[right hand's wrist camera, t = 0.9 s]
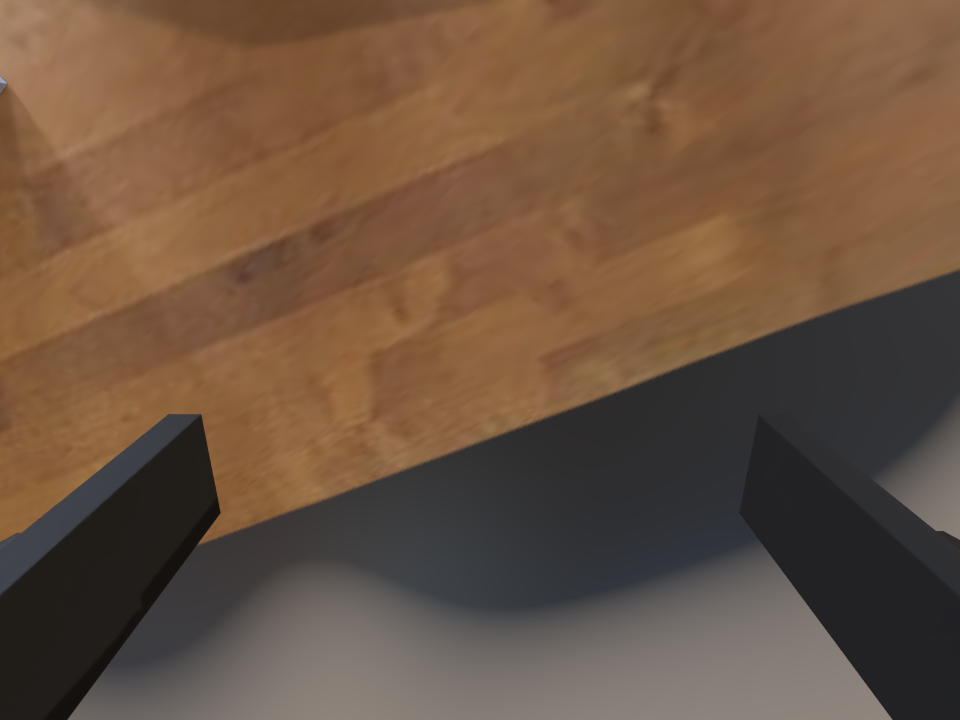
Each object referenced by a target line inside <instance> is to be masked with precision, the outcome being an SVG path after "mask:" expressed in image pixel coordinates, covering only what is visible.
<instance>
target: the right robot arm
mask: <svg viewBox="0 0 960 720" xmlns="http://www.w3.org/2000/svg"><path fill="white" fill-rule="evenodd" d="M219 514H220V508H219V503H218V497H217V492H216V487H215V482H214V477H213V472H212V467H211V462H210V457H209V452H208V447H207V442H206V437H205V432H204V426H203V421H202V416H201V414H168V415H167V416H166V417H165V418H164V419H162V420H161V421H160V422H159V423H157V424H156V425H155V426H154V427H152V428H151V429H150V430H149V431H147V432H146V433H145V434H144V435H142V436H141V437H140V438H139V439H138V440H136V441H135V442H134V443H133V444H131V445H130V446H129V447H128V448H126V449H125V450H124V451H123V452H121V453H120V454H119V455H118V456H116V457H115V458H114V459H113V460H112V461H110V462H109V463H108V464H107V465H105V466H104V467H103V468H102V469H100V470H99V471H98V472H97V473H95V474H94V475H93V476H92V477H90V478H89V479H88V480H87V481H85V482H84V483H83V484H82V485H81V486H79V487H78V488H77V489H76V490H74V491H73V492H72V493H71V494H69V495H68V496H67V497H66V498H64V499H63V500H62V501H61V502H59V503H58V504H57V505H56V506H55V507H53V508H52V509H51V510H50V511H48V512H47V513H46V514H45V515H43V516H42V517H41V518H40V519H38V520H37V521H36V522H35V523H33V524H32V525H31V526H30V527H29V528H27V529H26V530H25V531H24V532H22V533H17V534H15V535H13V536H11V537H9V538H7V539H5V540H4V541H2V542H0V720H67V719H68V718H69V717H70V715H71V714H72V713H73V711H74V710H75V709H76V707H77V706H78V705H79V703H80V702H81V701H82V699H83V698H84V696H85V695H86V694H87V692H88V691H89V690H90V688H91V687H92V686H93V684H94V683H95V682H96V680H97V679H98V678H99V676H100V675H101V674H102V672H103V671H104V670H105V668H106V667H107V665H108V664H109V663H110V661H111V660H112V659H113V657H114V656H115V655H116V653H117V652H118V651H119V649H120V648H121V647H122V645H123V644H124V643H125V641H126V640H127V638H128V637H129V636H130V634H131V633H132V632H133V630H134V629H135V628H136V626H137V625H138V624H139V622H140V621H141V620H142V618H143V617H144V616H145V614H146V613H147V612H148V610H149V609H150V607H151V606H152V605H153V603H154V602H155V601H156V599H157V598H158V597H159V595H160V594H161V593H162V591H163V590H164V589H165V587H166V586H167V584H168V583H169V582H170V580H171V579H172V578H173V576H174V575H175V574H176V572H177V571H178V570H179V568H180V567H181V566H182V564H183V563H184V562H185V560H186V559H187V558H188V556H189V555H190V554H191V552H192V551H193V549H194V548H195V547H196V545H197V544H198V543H199V541H200V540H201V539H202V537H203V536H204V535H205V533H206V532H207V531H208V529H209V528H210V527H211V525H212V524H213V523H214V521H215V520H216V518H217V517H218V516H219ZM740 514H741V516H742V517H743V518H744V520H745V521H746V522H747V524H748V525H749V526H750V528H751V529H752V531H753V532H754V533H755V534H756V536H757V537H758V539H759V540H760V541H761V543H762V544H763V545H764V547H765V548H766V549H767V551H768V552H769V554H770V555H771V556H772V558H773V559H774V560H775V562H776V563H777V564H778V566H779V567H780V568H781V570H782V571H783V572H784V574H785V575H786V576H787V578H788V579H789V581H790V582H791V583H792V585H793V586H794V587H795V589H796V590H797V591H798V593H799V594H800V595H801V597H802V598H803V599H804V601H805V602H806V603H807V605H808V606H809V607H810V609H811V610H812V612H813V613H814V614H815V615H816V617H817V618H818V620H819V621H820V622H821V624H822V625H823V626H824V628H825V629H826V630H827V632H828V633H829V634H830V636H831V637H832V638H833V640H834V641H835V643H836V644H837V645H838V647H839V648H840V649H841V651H842V652H843V653H844V655H845V656H846V657H847V659H848V660H849V661H850V663H851V664H852V665H853V667H854V668H855V670H856V671H857V672H858V673H859V675H860V676H861V678H862V679H863V680H864V682H865V683H866V684H867V686H868V687H869V688H870V690H871V691H872V692H873V694H874V695H875V697H876V698H877V699H878V701H879V702H880V703H881V705H882V706H883V707H884V709H885V710H886V711H887V713H888V714H889V715H890V717H891V718H892V719H893V720H960V540H959V539H957V538H955V537H953V536H951V535H949V534H947V533H946V532H944V531H935V530H934V529H933V528H931V527H930V526H929V525H928V524H927V523H925V522H924V521H923V520H922V519H920V518H919V517H918V516H917V515H915V514H914V513H913V512H912V511H910V510H909V509H908V508H907V507H905V506H904V505H903V504H902V503H901V502H899V501H898V500H897V499H896V498H894V497H893V496H892V495H890V494H889V493H888V492H887V491H886V490H884V489H883V488H882V487H881V486H879V485H878V484H877V483H876V482H875V481H873V480H872V479H871V478H870V477H868V476H867V475H866V474H865V473H863V472H862V471H861V470H860V469H858V468H857V467H856V466H855V465H853V464H852V463H851V462H850V461H848V460H847V459H846V458H845V457H843V456H842V455H841V454H840V453H839V452H837V451H836V450H835V449H834V448H832V447H831V446H830V445H829V444H827V443H826V442H825V441H824V440H822V439H821V438H820V437H819V436H817V435H816V434H815V433H814V432H813V431H811V430H810V429H809V428H808V427H806V426H805V425H804V424H803V423H801V422H800V421H799V420H798V419H796V418H795V417H794V416H793V415H791V414H759V416H758V422H757V426H756V432H755V437H754V442H753V447H752V452H751V457H750V462H749V467H748V472H747V477H746V482H745V487H744V492H743V498H742V503H741V508H740Z"/></svg>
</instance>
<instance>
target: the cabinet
mask: <svg viewBox="0 0 960 720" xmlns="http://www.w3.org/2000/svg"><path fill="white" fill-rule="evenodd" d="M6 85H7V83H6V82H5V81H4V80H3V79H2V78H1V77H0V93H1V92H2V91H3V89H4V88H5V87H6Z"/></svg>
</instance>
